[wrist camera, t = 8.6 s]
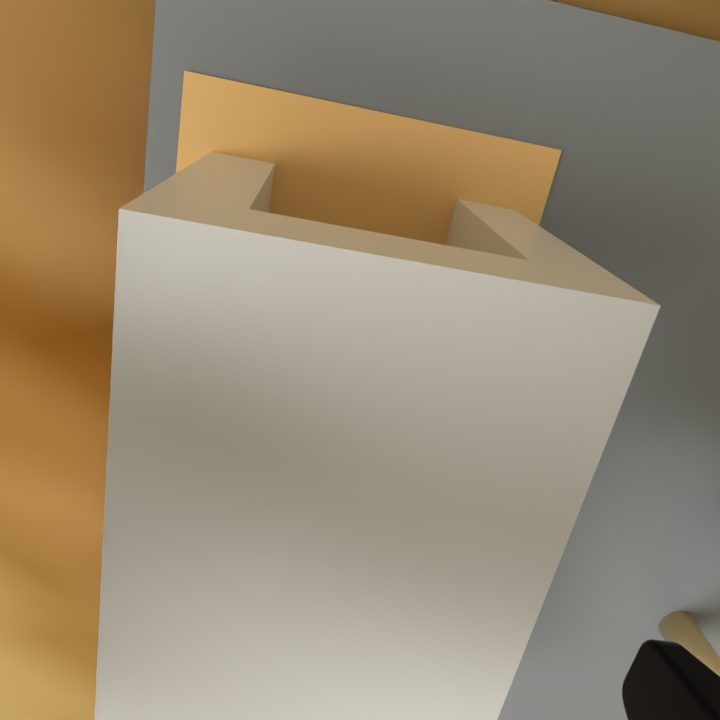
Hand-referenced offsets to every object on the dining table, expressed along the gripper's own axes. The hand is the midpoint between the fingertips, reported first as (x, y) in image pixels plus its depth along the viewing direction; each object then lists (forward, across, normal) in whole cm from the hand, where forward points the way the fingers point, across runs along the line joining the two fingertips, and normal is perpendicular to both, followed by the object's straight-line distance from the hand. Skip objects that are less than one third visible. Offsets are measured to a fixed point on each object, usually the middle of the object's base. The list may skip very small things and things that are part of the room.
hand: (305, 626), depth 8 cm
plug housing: (+5, 0, 0) cm, 5 cm away
